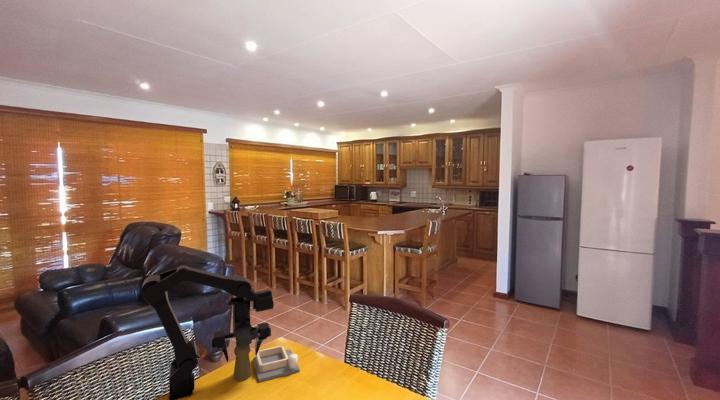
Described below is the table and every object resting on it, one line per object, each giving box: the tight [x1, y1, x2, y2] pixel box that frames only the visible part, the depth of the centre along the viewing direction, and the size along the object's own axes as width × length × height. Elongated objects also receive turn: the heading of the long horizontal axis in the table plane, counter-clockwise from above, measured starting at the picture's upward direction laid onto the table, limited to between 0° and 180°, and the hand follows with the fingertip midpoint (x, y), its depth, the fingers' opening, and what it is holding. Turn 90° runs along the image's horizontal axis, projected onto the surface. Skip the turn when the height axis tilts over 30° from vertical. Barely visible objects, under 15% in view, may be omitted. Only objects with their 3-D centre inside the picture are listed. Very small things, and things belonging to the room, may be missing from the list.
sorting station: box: [252, 345, 301, 383], centre depth 117 cm, size 14×14×5 cm
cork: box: [232, 344, 253, 382], centre depth 111 cm, size 6×6×11 cm
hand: (242, 358), depth 111 cm, fingers open, 9 cm apart
